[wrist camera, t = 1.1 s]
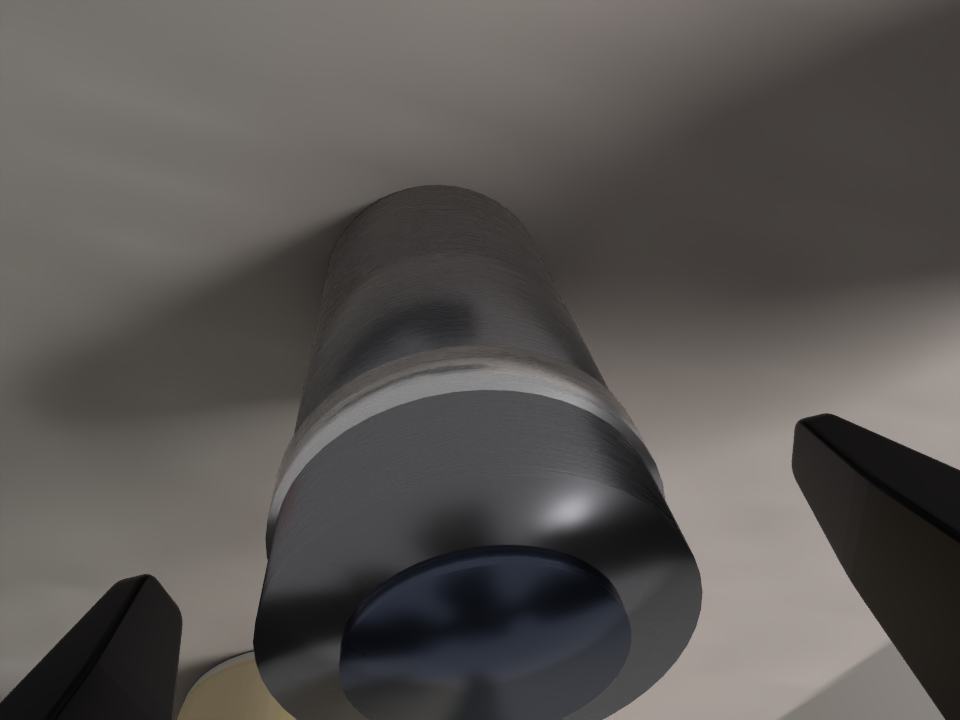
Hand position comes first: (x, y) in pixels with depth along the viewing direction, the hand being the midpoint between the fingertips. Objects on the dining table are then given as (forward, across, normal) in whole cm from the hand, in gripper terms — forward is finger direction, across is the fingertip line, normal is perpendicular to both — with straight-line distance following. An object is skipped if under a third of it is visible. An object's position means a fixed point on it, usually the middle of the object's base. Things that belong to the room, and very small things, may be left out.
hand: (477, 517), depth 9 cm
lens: (+7, 0, 0) cm, 7 cm away
